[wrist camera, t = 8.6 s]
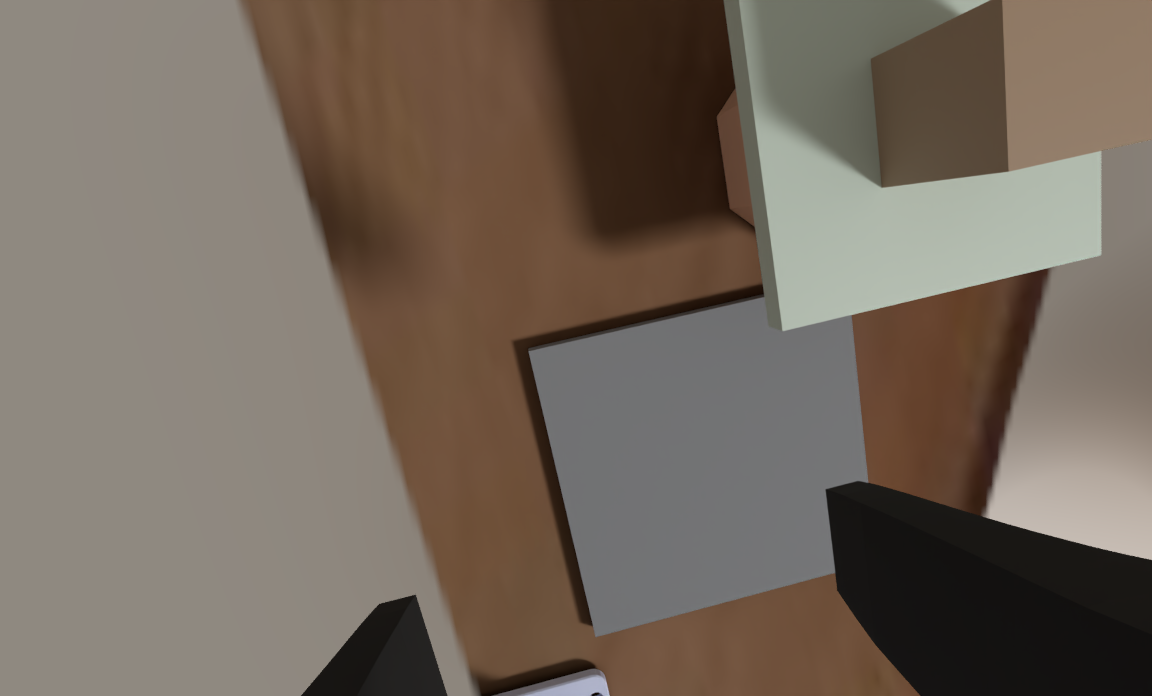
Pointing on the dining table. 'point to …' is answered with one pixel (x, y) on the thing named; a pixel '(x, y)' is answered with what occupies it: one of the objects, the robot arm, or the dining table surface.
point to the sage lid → (929, 140)
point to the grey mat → (700, 455)
